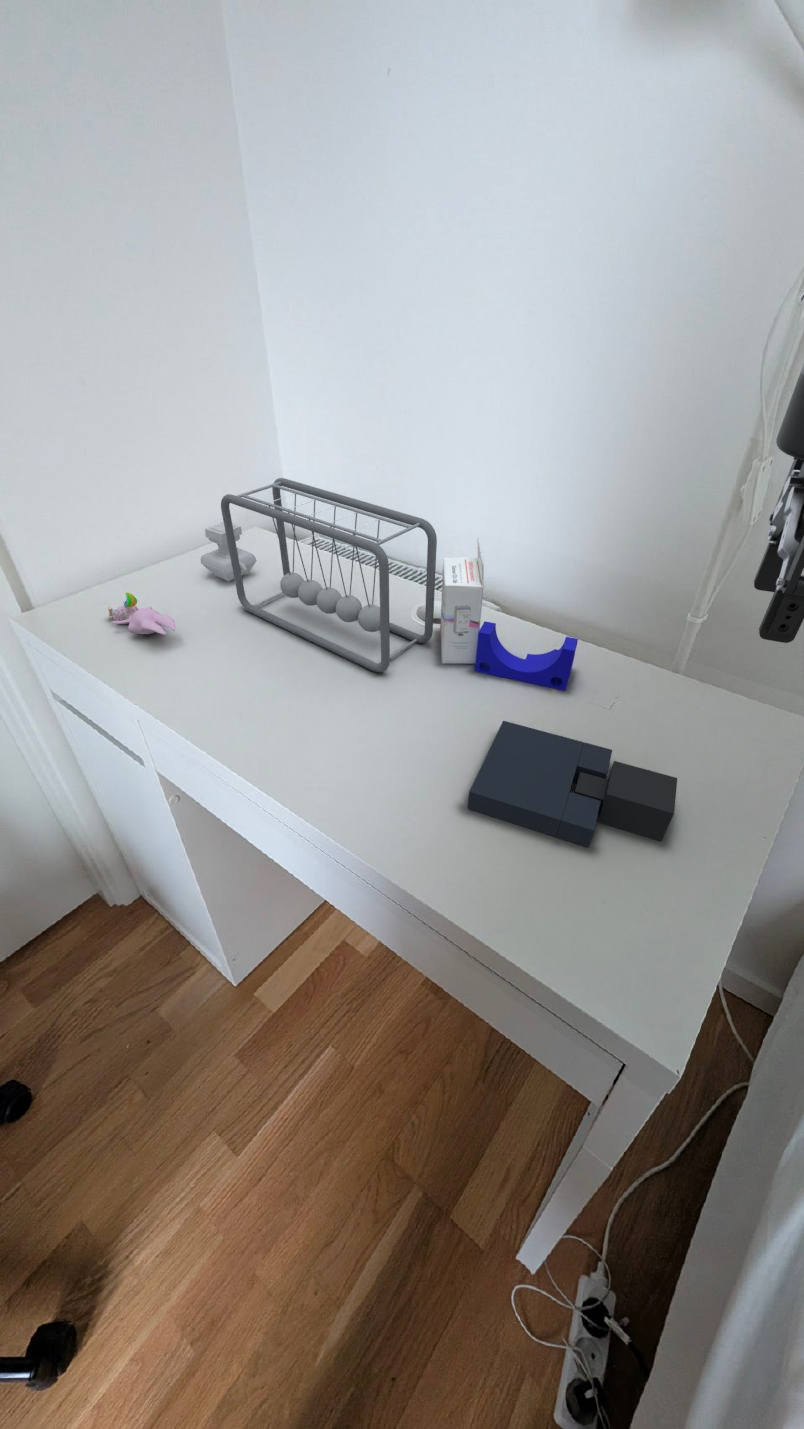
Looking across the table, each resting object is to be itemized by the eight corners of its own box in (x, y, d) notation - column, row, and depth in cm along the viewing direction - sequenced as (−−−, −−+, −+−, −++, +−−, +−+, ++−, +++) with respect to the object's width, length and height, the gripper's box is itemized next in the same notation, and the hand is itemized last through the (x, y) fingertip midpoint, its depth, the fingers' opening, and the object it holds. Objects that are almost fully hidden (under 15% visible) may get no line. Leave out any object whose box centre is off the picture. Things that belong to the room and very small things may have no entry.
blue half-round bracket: (570, 672, 77) (579, 633, 73) (565, 690, 74) (574, 651, 70) (483, 654, 80) (487, 615, 76) (474, 671, 77) (478, 632, 73)
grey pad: (607, 766, 63) (612, 749, 61) (588, 847, 54) (594, 830, 53) (500, 737, 67) (503, 720, 65) (467, 808, 58) (469, 791, 56)
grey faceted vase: (199, 574, 99) (187, 526, 94) (230, 562, 103) (221, 515, 98) (232, 589, 95) (223, 540, 90) (263, 576, 99) (256, 527, 94)
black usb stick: (665, 805, 59) (677, 777, 56) (661, 841, 55) (674, 813, 52) (577, 780, 61) (585, 752, 59) (568, 813, 58) (576, 785, 55)
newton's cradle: (433, 645, 82) (439, 522, 71) (386, 679, 75) (384, 548, 64) (288, 584, 96) (274, 474, 85) (238, 608, 90) (216, 492, 79)
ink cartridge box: (438, 631, 85) (443, 534, 76) (471, 632, 85) (481, 534, 76) (440, 664, 78) (446, 562, 69) (477, 665, 78) (487, 562, 69)
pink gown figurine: (103, 631, 87) (154, 652, 78) (87, 594, 84) (137, 611, 75) (141, 615, 91) (193, 634, 82) (127, 579, 87) (180, 594, 78)
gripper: (992, 395, 28) (840, 670, 38) (919, 357, 38) (814, 582, 49) (816, 386, 31) (716, 648, 41) (792, 353, 41) (717, 568, 51)
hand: (770, 612), depth 45 cm, fingers open, 8 cm apart
